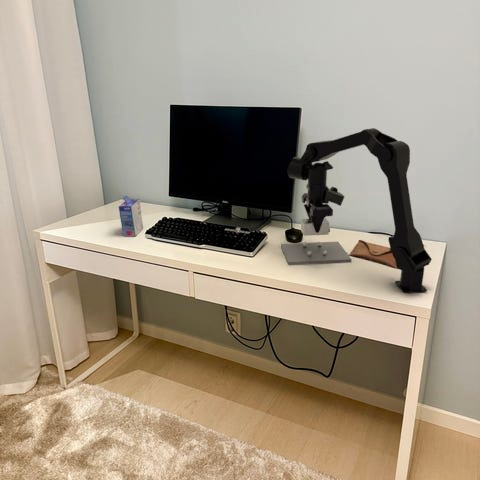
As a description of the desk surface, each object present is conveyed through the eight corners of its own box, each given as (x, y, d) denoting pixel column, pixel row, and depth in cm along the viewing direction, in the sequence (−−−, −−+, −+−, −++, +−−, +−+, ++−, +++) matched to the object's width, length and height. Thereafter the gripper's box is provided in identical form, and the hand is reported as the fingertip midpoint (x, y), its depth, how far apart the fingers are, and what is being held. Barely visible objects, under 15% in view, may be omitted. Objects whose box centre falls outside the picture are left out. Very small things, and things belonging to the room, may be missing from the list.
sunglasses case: (345, 255, 143) (351, 235, 144) (353, 259, 149) (359, 241, 149) (399, 269, 132) (405, 248, 132) (405, 273, 138) (412, 253, 138)
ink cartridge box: (130, 228, 176) (126, 193, 171) (143, 228, 175) (140, 193, 170) (121, 236, 166) (117, 199, 161) (135, 236, 166) (131, 199, 161)
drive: (330, 234, 140) (330, 222, 139) (303, 235, 140) (304, 223, 139) (326, 229, 145) (326, 217, 144) (301, 230, 145) (301, 219, 143)
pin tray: (351, 262, 138) (351, 254, 137) (288, 264, 137) (288, 257, 137) (337, 244, 153) (338, 237, 152) (281, 246, 152) (281, 239, 152)
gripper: (351, 188, 128) (348, 238, 134) (334, 175, 146) (332, 220, 151) (313, 190, 128) (312, 240, 133) (301, 176, 146) (300, 221, 151)
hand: (315, 229), depth 142 cm, fingers closed on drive, 5 cm apart
